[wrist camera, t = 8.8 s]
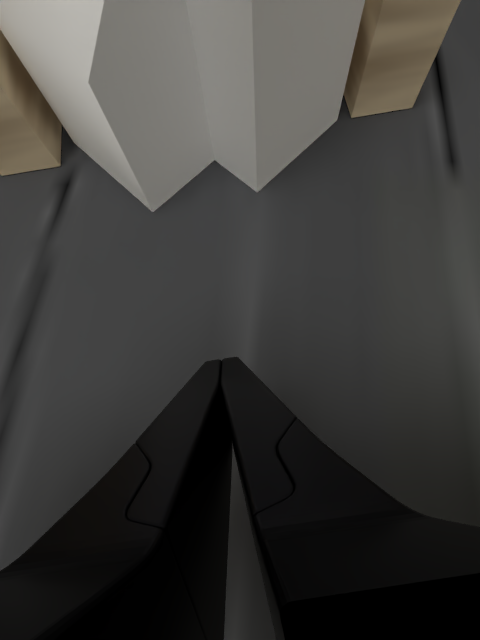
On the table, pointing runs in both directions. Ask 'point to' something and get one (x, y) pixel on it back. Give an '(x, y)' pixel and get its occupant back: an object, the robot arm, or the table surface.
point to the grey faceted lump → (187, 81)
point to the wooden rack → (360, 90)
